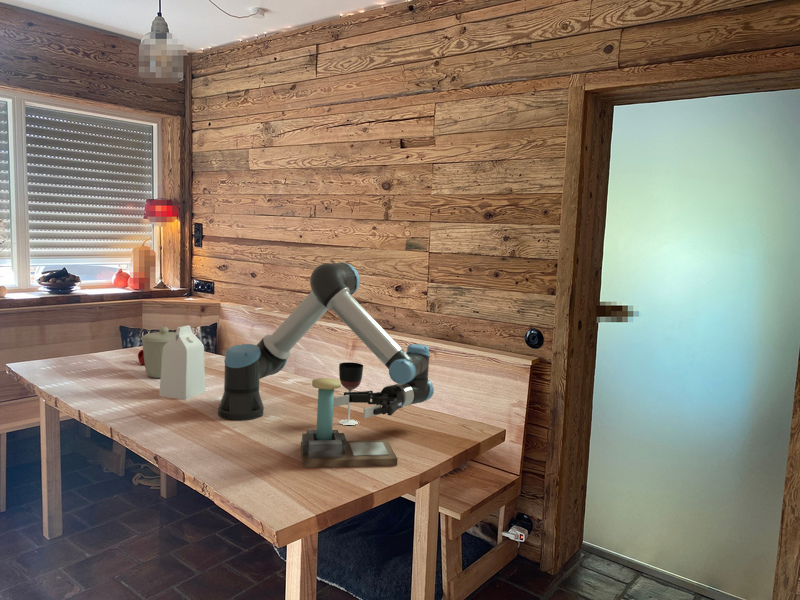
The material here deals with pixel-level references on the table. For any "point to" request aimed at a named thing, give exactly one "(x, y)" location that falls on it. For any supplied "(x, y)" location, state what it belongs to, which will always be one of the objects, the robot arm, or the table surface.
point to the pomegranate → (141, 357)
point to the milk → (182, 366)
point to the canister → (155, 350)
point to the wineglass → (350, 382)
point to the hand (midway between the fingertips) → (347, 407)
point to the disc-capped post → (325, 406)
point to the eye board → (353, 459)
